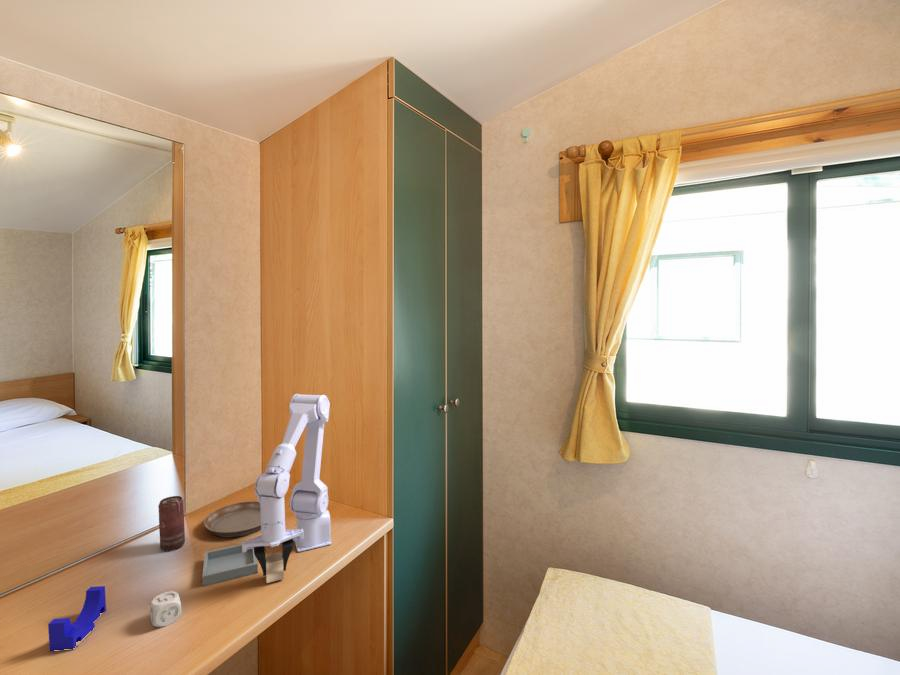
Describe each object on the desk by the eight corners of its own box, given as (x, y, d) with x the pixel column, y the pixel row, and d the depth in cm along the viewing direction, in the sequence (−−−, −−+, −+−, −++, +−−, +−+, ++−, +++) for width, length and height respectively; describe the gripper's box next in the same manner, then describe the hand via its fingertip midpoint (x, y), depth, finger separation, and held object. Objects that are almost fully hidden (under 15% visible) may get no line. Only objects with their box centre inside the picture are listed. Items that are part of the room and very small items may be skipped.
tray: (255, 549, 127) (254, 541, 126) (257, 572, 115) (257, 563, 115) (205, 560, 121) (204, 552, 121) (202, 586, 110) (202, 576, 110)
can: (174, 553, 125) (172, 505, 124) (155, 550, 126) (153, 503, 125) (190, 542, 131) (188, 496, 130) (172, 539, 132) (170, 494, 131)
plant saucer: (284, 526, 141) (284, 516, 140) (212, 549, 127) (212, 538, 127) (263, 505, 156) (263, 495, 156) (198, 523, 143) (197, 513, 143)
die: (149, 619, 98) (148, 598, 98) (175, 608, 102) (174, 588, 101) (155, 631, 94) (154, 608, 94) (181, 619, 98) (181, 597, 98)
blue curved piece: (73, 650, 89) (72, 622, 89) (49, 652, 89) (48, 624, 88) (113, 610, 101) (111, 585, 101) (92, 612, 101) (90, 586, 100)
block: (282, 570, 115) (281, 552, 115) (283, 578, 112) (283, 559, 112) (265, 574, 114) (265, 555, 113) (266, 583, 110) (266, 563, 110)
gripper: (241, 533, 105) (243, 588, 106) (305, 520, 111) (306, 571, 112) (241, 520, 111) (242, 572, 112) (301, 509, 118) (302, 558, 119)
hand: (274, 571), depth 113 cm, fingers closed on block, 4 cm apart
